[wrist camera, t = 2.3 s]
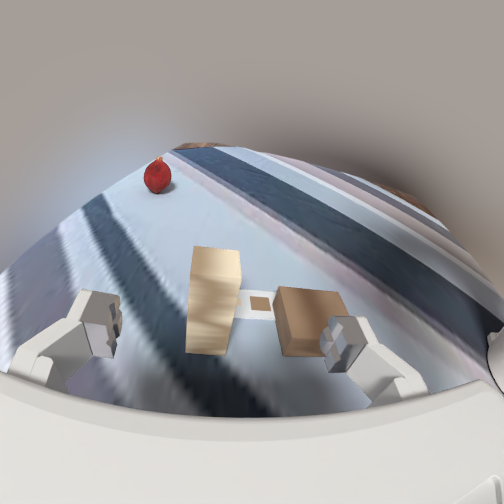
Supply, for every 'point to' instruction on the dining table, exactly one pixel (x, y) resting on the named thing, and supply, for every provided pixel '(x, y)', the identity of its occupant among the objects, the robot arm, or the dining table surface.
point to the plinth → (304, 318)
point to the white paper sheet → (255, 305)
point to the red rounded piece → (157, 175)
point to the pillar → (212, 299)
